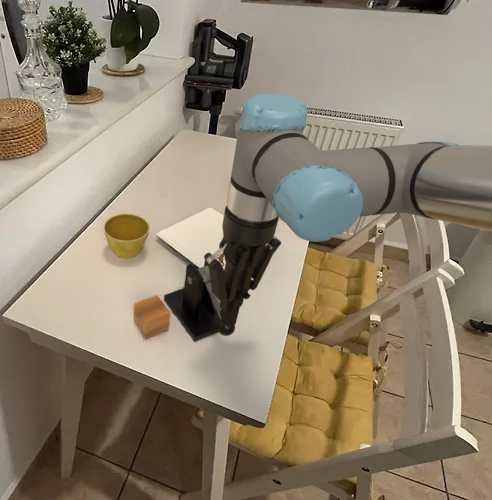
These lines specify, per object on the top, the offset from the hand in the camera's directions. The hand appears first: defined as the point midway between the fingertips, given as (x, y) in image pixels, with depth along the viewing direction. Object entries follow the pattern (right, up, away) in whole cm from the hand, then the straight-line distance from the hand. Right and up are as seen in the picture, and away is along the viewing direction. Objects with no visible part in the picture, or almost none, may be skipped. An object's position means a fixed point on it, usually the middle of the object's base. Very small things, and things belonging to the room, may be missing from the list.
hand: (227, 319), depth 75 cm
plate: (+1, +13, +27) cm, 30 cm away
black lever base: (-4, 0, +10) cm, 11 cm away
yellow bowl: (-19, +12, +24) cm, 33 cm away
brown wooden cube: (-13, -2, +7) cm, 15 cm away
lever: (-2, +2, +4) cm, 5 cm away
